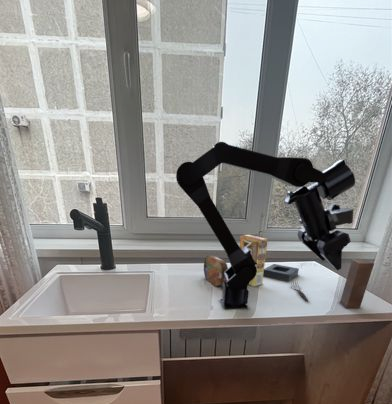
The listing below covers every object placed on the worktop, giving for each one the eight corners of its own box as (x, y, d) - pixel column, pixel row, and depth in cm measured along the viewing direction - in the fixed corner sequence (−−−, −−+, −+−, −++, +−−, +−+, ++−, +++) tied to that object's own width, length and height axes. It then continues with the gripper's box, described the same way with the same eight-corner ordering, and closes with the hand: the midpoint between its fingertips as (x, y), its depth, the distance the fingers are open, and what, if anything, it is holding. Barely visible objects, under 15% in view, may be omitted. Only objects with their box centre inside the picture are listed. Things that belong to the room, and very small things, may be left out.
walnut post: (346, 308, 82) (359, 263, 75) (339, 302, 85) (352, 259, 79) (359, 308, 82) (374, 263, 75) (352, 302, 85) (366, 259, 79)
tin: (202, 275, 105) (203, 252, 101) (210, 275, 106) (211, 252, 102) (219, 289, 93) (221, 264, 89) (228, 288, 94) (230, 263, 90)
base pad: (288, 281, 101) (289, 274, 100) (262, 276, 106) (263, 269, 105) (297, 274, 109) (298, 268, 107) (272, 270, 114) (273, 263, 112)
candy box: (262, 284, 98) (268, 238, 90) (253, 287, 96) (259, 239, 88) (245, 277, 104) (249, 234, 97) (236, 279, 102) (240, 235, 95)
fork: (302, 302, 85) (304, 296, 84) (289, 284, 99) (290, 279, 98) (311, 303, 85) (313, 296, 84) (296, 284, 99) (297, 279, 98)
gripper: (363, 194, 61) (381, 257, 67) (326, 190, 77) (343, 241, 84) (314, 223, 63) (335, 281, 70) (288, 213, 80) (307, 261, 86)
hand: (331, 264), depth 77 cm, fingers open, 9 cm apart
